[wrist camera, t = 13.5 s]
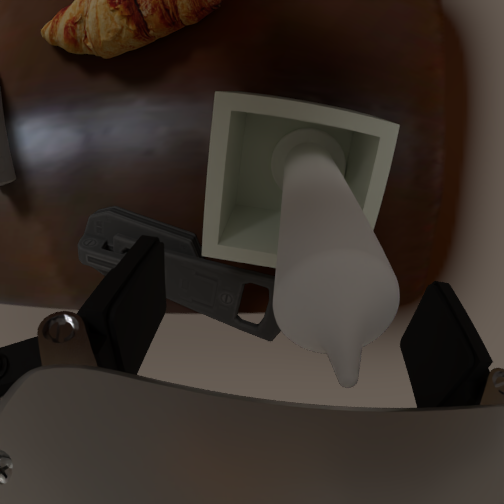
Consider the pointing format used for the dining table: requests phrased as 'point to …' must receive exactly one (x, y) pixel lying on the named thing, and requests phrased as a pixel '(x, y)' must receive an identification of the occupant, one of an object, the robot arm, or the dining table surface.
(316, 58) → the dining table surface
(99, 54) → the croissant
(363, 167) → the open square box
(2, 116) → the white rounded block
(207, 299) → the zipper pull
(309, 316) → the candle
